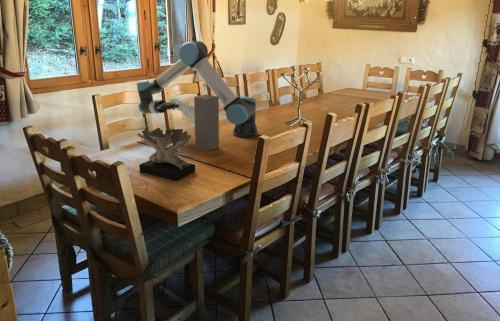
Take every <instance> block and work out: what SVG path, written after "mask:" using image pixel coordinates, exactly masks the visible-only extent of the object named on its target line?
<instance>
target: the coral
mask: <svg viewBox="0 0 500 321" xmlns="http://www.w3.org/2000/svg"><path fill="white" fill-rule="evenodd" d="M163 130H164V129H161V128H160V127H157V128H155V129H153V130H152V131H151V130H150V131H148V132H147V130H146V129H144V130H141V133H142V134H141V133H140V132H138V133H137V134H136V135H137V136H138V137H139V138H140V139H142V140H144V141H145V142H147V143H149V144H150V145H151V146H152V147H153V148H154V149H155V152H154V153H152V154H151V156H149V157H148V160H147V161H145V162H142V163H140V164H139V165H138V166H139V167H138V168H139V173H142V174H146V175H149V176H154V177H158V178H163V179H166V180H170V181H174V182H178V181H180V180H183V179H184V178H186V177H187V176H190V175H192V174H194V173H196V165H195V164H194V163H190V162H186V160H184V159H181V158H180V157H179V156H178V157H177V156H175V155H174V152H175V150H176V149H178V148H181V147H183V146H184V145H186V144H187V143H190V142H189V141H190V140H191V139H192V136H191V135H190V134H188V130H185V131H184V129H183V128H176V129H175V128H173V129H171V128H170V129H167V128H166V129H165V130H164V131H163ZM183 131H184V132H183ZM170 135H171V144H172V146H171V147H169V148H168V147H167V144H166V142H167V140H168V138H169V137H170Z"/></svg>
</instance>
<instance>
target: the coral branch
mask: <svg viewBox="0 0 500 321" xmlns="http://www.w3.org/2000/svg"><path fill="white" fill-rule="evenodd" d="M171 146H172V142H169V144H168V145H166V147H168V148H169V147H171ZM180 148H181V147H179V148H178V149H176V150H175V152H174V155H175V156H177V157H179V156H180V155H181V153H182V154H183V153H184V152H183V151H181V149H180Z"/></svg>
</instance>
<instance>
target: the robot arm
mask: <svg viewBox="0 0 500 321" xmlns="http://www.w3.org/2000/svg"><path fill="white" fill-rule="evenodd" d="M208 55H209V49H208V46H207V45H206V44H205V43H204V42H202V41H199V40H195V41H187V42H184V43H183V44H181V46H180V47H179V50H178V57H179V59H178V60H177V61H176V62H174V64H171V66H170V67H169V68H168V69H166V70H164V71H163V72H162V73H161V74H160V75H158V77H156V78H155V79H154V80H152V81H151V82H150V81H149V80H147V79H146V80H141V81H138V82H137V83H136V87H137V88H136V90H137V93H138V97H139V103H138V106H137V108H138V111H139V112H140V113H142V114H147V115H148V114H156V115H158V114H165V113H166V112H167V110H173V111H175V109H177V108H184V105H185V106H190V105H189V102H188V101H185V102H182V101H181V100H179V101H180V102H181V103H176V104H175V105H174V104H170V101H168V102H167V101H166V100H164V99H155V100H154V97H153V95H156V94H160V93H162V92H163V91H164V89H165V88H166V87H168V86H169V85H170V84H171V83H173V82H174V81H175V80H176V79H177V78H179V77H181V76H182V75H183V74H184V73H185V72H187V71H188V70H189V69H191V70H192V71H194V72H195V71H196V73H198V75H199V76H200V77H201V78H202V79H203V81H204V83H205V84H206V85H207V86H208V87H209V89H211V91H212V92H213V94H214V96H217V97H219V102H221V104H222V109H223V110H224V112H225V116H226V119H227V121H228V122H229V123H230V124H233V125H234V127H233V130H232V135H233V136H235V137H236V138H245V139H246V138H248V139H249V138H254V137H255V138H256V137H257V136H258V135H259V130H258V126H257V124H256V115H257V114H256V112H257V99H256V98H255V97H252V96H240V95H235V93H234V92H233V91H232V89H231V88H230V87H229V86H228V85H227V83H226V82H225V81H224V79H223V78H222V77H221V75H220V74H219V73H218V72H217V70H216V69H215V68H214V66H213V65H212V64H211V63H210V61H209V59H210V58H209V56H208Z"/></svg>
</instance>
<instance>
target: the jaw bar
mask: <svg viewBox="0 0 500 321" xmlns="http://www.w3.org/2000/svg"><path fill="white" fill-rule="evenodd" d="M180 101H181V100H178V99H177V98H176V97H170V100H169V103H170V104H174V105H175V104H176V103H181V102H182V101H181V102H180ZM176 109H177V111H179V112H181V113H182V114H183V116H185V117H187V118H188V119H189V120H190V121H192V122H193V123H195V108H194V105H193V104H190V105H189V106H185V105H184V108H176Z"/></svg>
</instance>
